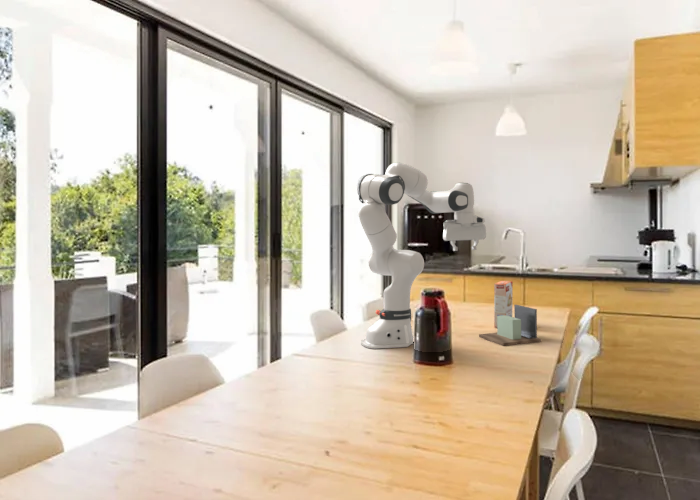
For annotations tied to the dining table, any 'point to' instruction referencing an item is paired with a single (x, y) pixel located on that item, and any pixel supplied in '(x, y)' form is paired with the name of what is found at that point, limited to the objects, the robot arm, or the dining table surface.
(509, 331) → the pale green block
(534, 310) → the bookend
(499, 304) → the cracker box
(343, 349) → the dining table surface
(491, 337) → the shelf board
